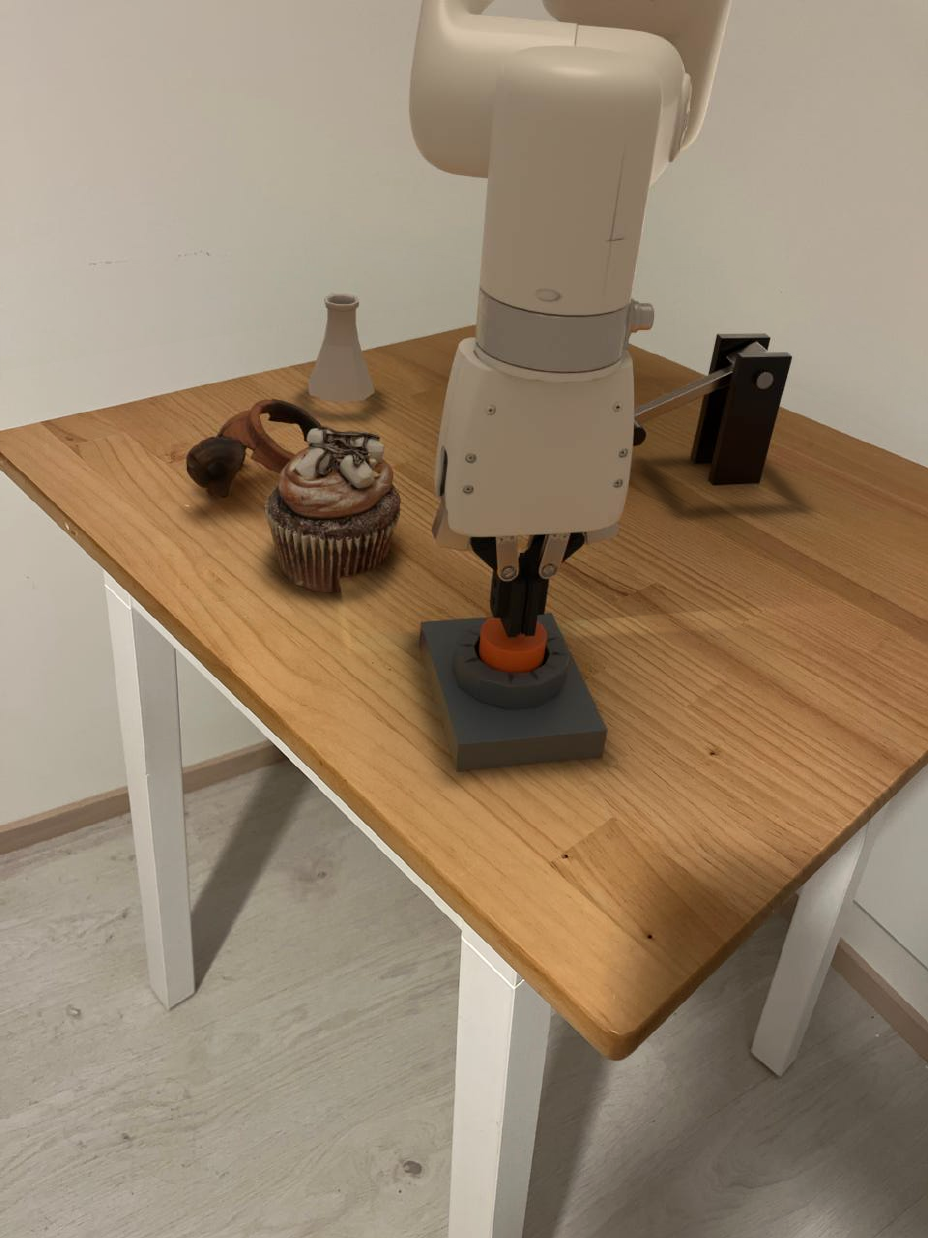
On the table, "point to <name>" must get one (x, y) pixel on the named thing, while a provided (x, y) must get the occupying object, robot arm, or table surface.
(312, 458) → the cupcake
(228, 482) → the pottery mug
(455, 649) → the button box
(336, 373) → the flask
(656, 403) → the lever
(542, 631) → the button
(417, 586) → the table surface
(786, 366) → the bracket
